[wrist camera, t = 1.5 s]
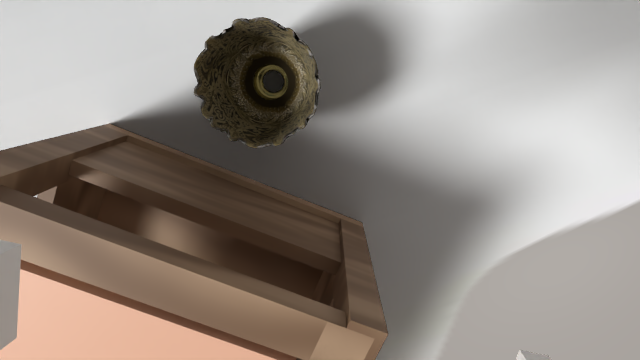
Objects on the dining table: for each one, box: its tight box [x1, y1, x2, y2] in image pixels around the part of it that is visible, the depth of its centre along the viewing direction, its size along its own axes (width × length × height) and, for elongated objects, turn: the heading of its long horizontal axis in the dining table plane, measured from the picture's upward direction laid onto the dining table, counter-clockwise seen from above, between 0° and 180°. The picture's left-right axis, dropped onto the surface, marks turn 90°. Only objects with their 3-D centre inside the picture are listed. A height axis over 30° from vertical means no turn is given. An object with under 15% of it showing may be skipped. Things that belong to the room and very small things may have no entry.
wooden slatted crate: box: [0, 124, 388, 360], centre depth 29 cm, size 22×22×15 cm
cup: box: [194, 17, 320, 148], centre depth 28 cm, size 8×7×8 cm
